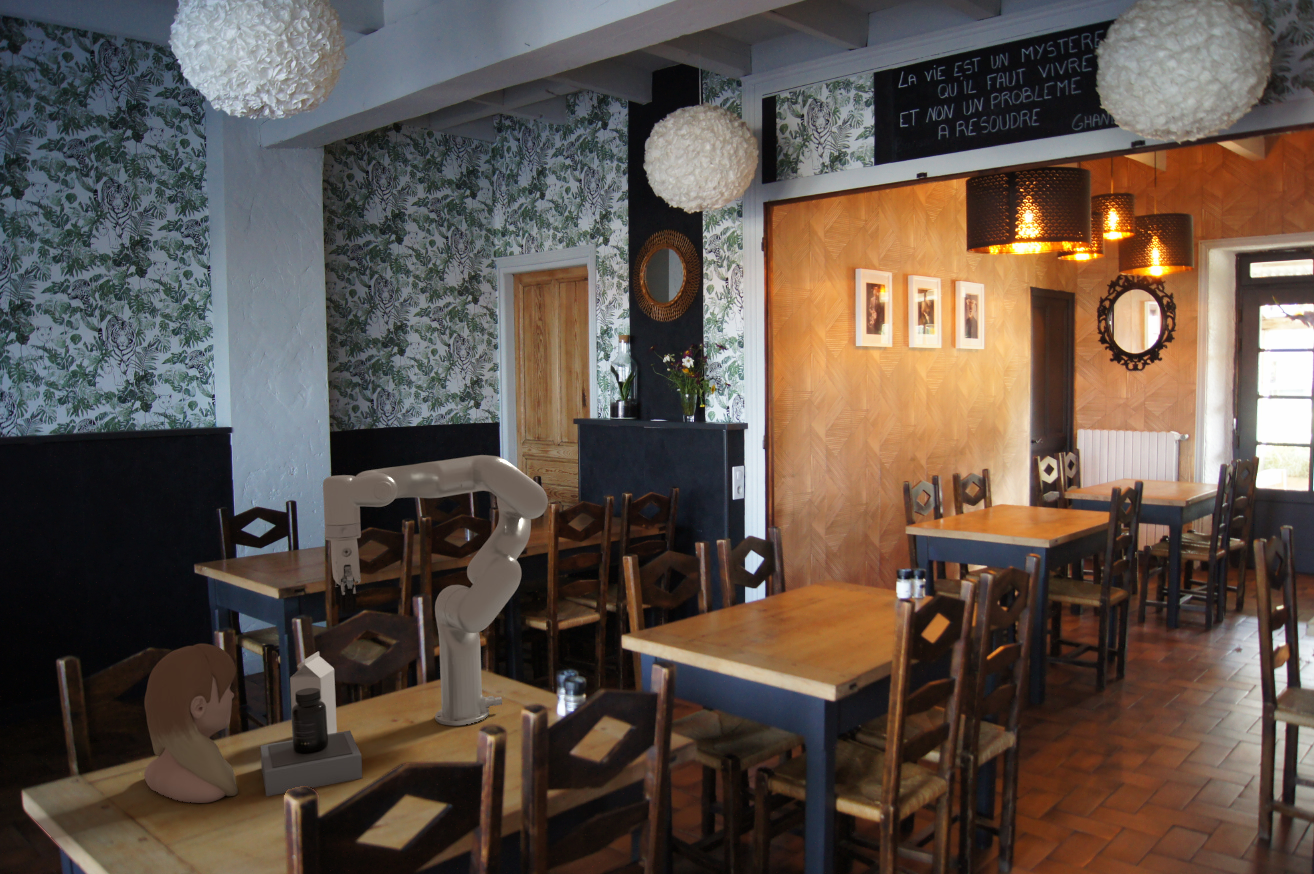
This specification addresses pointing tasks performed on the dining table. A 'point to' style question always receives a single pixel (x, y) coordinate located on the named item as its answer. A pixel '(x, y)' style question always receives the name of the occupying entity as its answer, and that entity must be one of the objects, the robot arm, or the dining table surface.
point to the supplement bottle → (309, 722)
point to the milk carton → (317, 685)
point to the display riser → (310, 764)
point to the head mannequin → (190, 724)
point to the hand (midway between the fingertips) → (346, 608)
